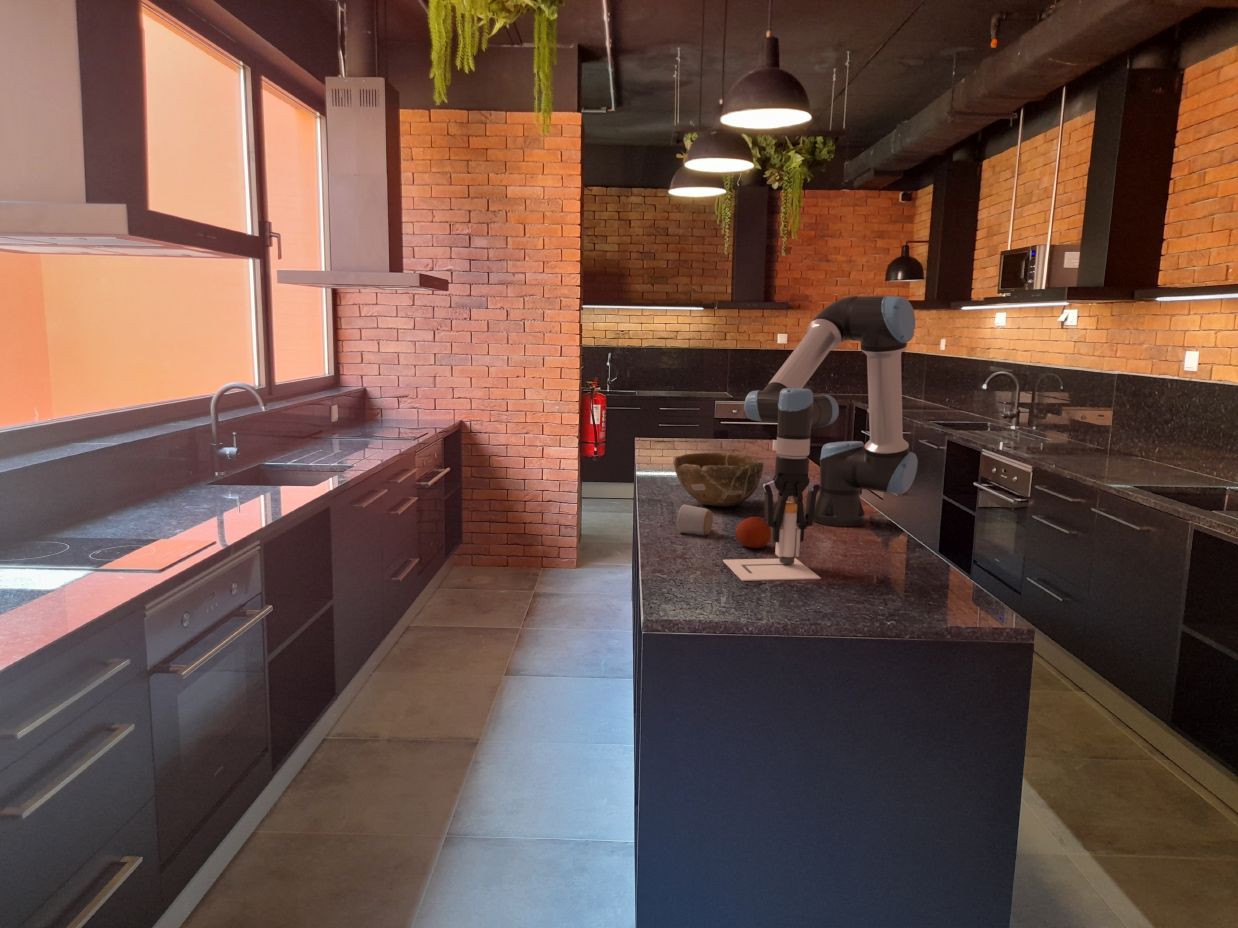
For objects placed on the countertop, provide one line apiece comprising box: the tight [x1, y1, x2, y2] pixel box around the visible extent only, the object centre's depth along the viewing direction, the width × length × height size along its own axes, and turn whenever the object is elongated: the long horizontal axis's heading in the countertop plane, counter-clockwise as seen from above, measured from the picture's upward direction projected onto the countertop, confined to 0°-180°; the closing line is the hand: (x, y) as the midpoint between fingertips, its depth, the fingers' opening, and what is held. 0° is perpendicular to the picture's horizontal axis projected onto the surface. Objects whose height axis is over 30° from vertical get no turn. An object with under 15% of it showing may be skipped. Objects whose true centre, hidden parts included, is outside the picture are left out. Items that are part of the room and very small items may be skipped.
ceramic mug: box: [676, 503, 714, 536], centre depth 227 cm, size 11×8×8 cm
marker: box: [778, 501, 798, 564], centre depth 196 cm, size 4×4×14 cm
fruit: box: [735, 515, 772, 549], centre depth 213 cm, size 9×9×8 cm
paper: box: [722, 558, 822, 582], centre depth 194 cm, size 18×16×1 cm
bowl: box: [673, 452, 764, 508], centre depth 261 cm, size 28×27×15 cm
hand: (787, 554), depth 197 cm, fingers closed on marker, 3 cm apart
